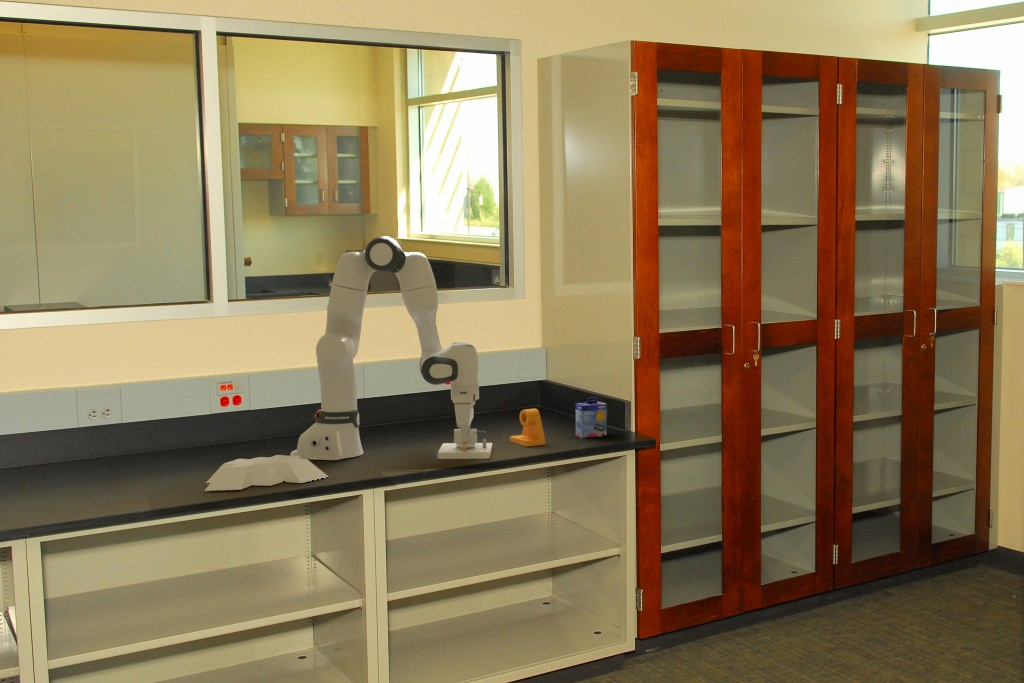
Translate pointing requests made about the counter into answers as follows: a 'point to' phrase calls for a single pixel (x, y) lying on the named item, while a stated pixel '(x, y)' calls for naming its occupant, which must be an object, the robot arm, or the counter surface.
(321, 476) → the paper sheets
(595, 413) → the ink cartridge box
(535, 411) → the bracket
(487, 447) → the dial plate
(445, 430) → the counter surface
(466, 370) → the robot arm
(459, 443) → the knob
